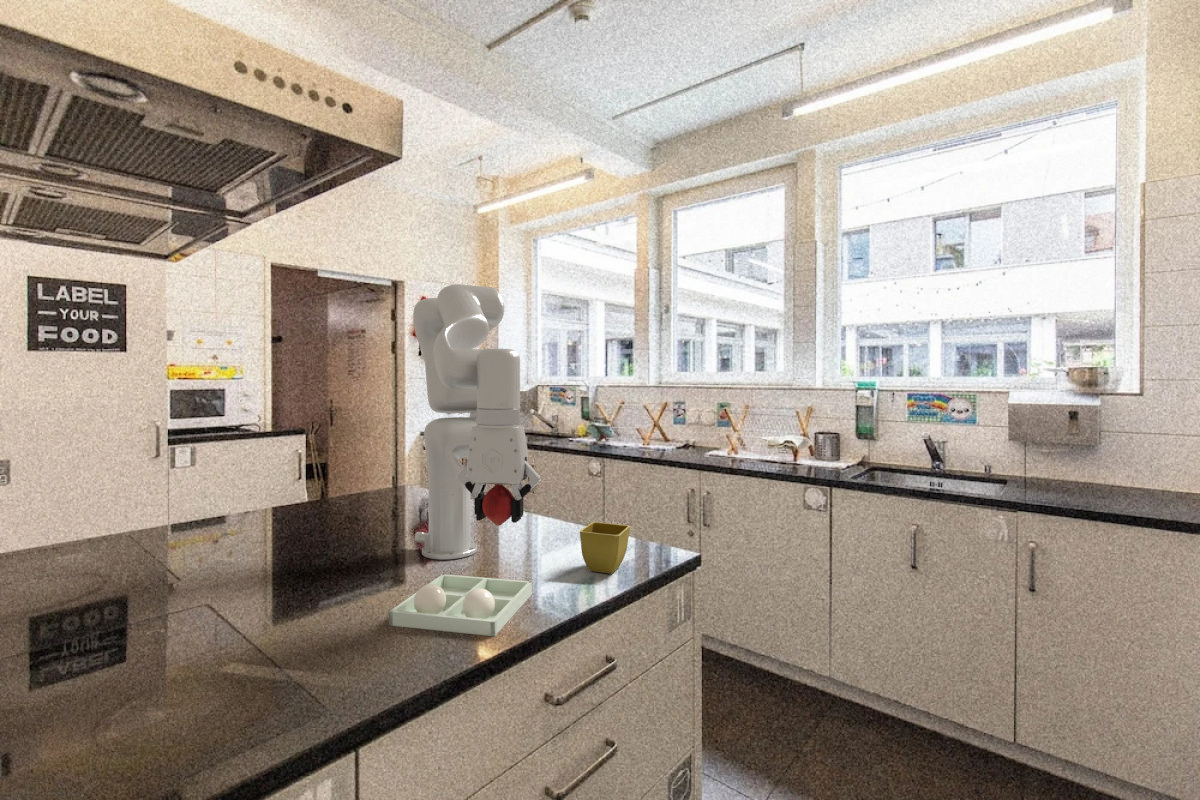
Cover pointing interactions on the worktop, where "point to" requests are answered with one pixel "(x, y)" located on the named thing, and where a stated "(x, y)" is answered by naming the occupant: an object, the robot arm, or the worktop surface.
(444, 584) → the egg tray
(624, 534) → the flower pot
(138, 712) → the worktop surface
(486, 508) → the onion
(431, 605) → the egg near left
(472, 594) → the egg near right
